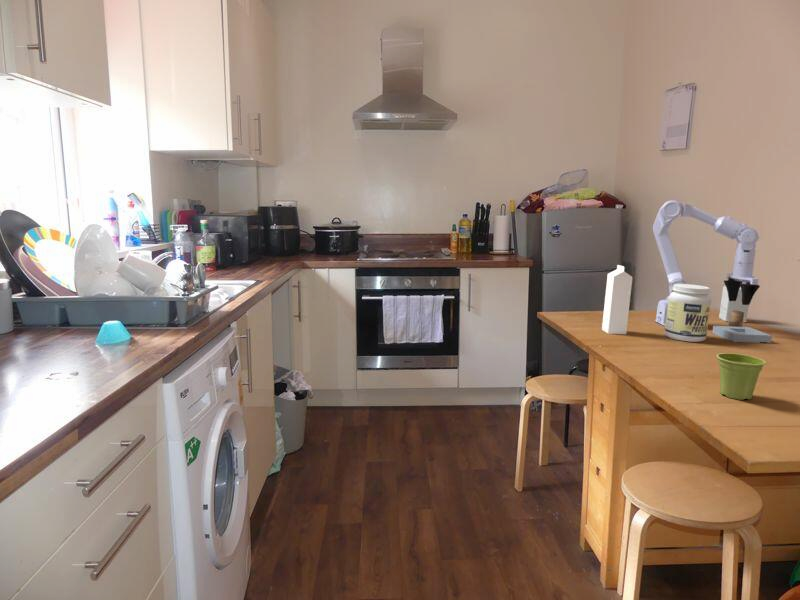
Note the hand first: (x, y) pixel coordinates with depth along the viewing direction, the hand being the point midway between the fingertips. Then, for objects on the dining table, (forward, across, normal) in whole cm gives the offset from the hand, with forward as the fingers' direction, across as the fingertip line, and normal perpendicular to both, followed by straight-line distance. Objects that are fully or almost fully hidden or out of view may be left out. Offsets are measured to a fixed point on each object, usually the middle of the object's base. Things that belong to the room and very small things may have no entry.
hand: (738, 302), depth 193 cm
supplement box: (+10, +20, -11) cm, 25 cm away
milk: (+10, -8, +45) cm, 47 cm away
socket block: (+10, -10, +4) cm, 15 cm away
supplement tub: (+10, -13, +24) cm, 29 cm away
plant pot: (+10, -69, +41) cm, 81 cm away
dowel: (+10, 0, 0) cm, 10 cm away
